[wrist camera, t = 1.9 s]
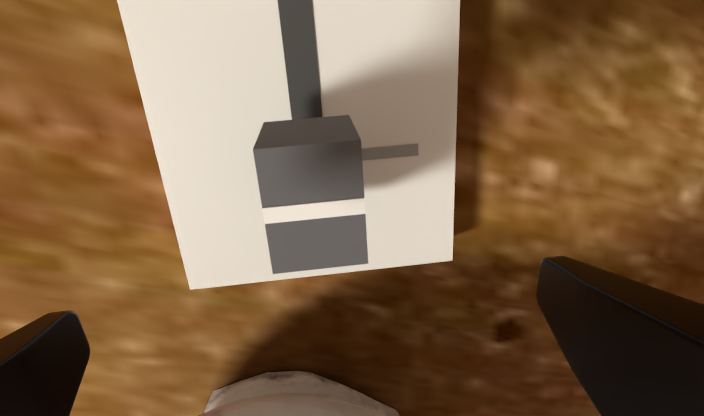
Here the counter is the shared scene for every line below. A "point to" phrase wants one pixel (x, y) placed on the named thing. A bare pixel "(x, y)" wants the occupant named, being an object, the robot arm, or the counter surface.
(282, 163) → the fader knob
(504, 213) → the counter surface
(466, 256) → the counter surface
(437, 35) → the fader panel
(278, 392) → the ceramic pitcher
